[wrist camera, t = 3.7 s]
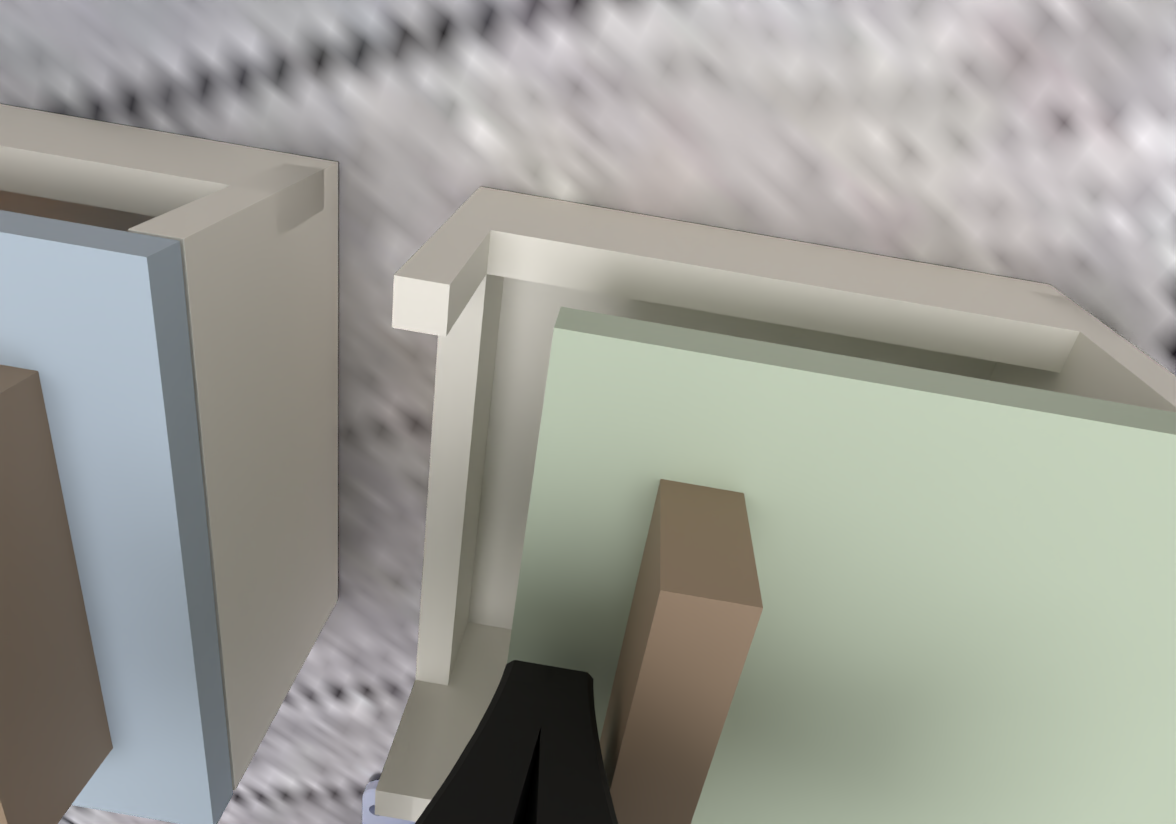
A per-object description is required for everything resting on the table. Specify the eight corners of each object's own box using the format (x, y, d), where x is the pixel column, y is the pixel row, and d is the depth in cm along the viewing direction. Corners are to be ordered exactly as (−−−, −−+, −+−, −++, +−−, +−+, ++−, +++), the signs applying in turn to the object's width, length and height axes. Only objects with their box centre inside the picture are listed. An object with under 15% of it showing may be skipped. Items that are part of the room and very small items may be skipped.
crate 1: (337, 600, 22) (235, 790, 17) (-85, 526, 22) (-322, 693, 17) (337, 161, 16) (183, 238, 11) (-229, 64, 16) (-654, 94, 11)
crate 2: (867, 692, 22) (933, 911, 17) (443, 618, 22) (374, 814, 17) (1050, 284, 16) (1237, 420, 11) (480, 186, 16) (393, 275, 11)
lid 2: (1047, 936, 17) (1127, 1129, 14) (484, 838, 17) (448, 1010, 14) (1412, 453, 11) (1673, 611, 8) (560, 306, 11) (526, 412, 8)
